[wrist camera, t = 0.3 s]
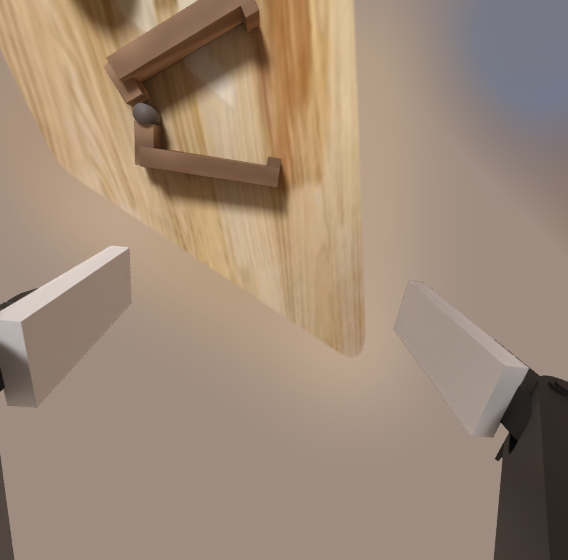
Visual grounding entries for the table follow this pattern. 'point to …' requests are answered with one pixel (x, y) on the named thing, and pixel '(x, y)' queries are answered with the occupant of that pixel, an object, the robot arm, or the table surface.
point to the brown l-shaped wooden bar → (192, 155)
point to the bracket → (175, 42)
